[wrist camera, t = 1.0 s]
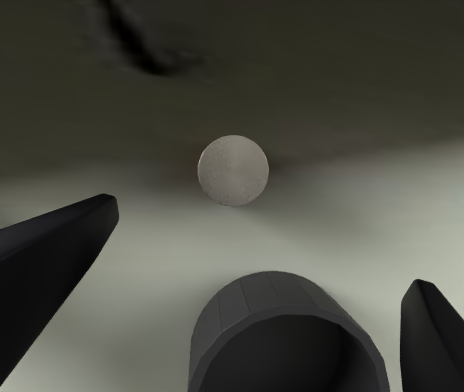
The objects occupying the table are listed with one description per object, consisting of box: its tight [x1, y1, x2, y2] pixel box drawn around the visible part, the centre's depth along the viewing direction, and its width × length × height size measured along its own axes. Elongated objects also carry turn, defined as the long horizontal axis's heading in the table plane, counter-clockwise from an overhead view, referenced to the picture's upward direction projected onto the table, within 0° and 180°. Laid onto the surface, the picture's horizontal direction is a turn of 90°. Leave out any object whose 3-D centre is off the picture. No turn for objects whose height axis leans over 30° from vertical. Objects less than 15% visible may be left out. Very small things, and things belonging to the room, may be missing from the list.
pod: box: [198, 135, 269, 207], centre depth 23 cm, size 5×5×4 cm
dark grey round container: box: [188, 271, 390, 392], centre depth 24 cm, size 13×13×6 cm
